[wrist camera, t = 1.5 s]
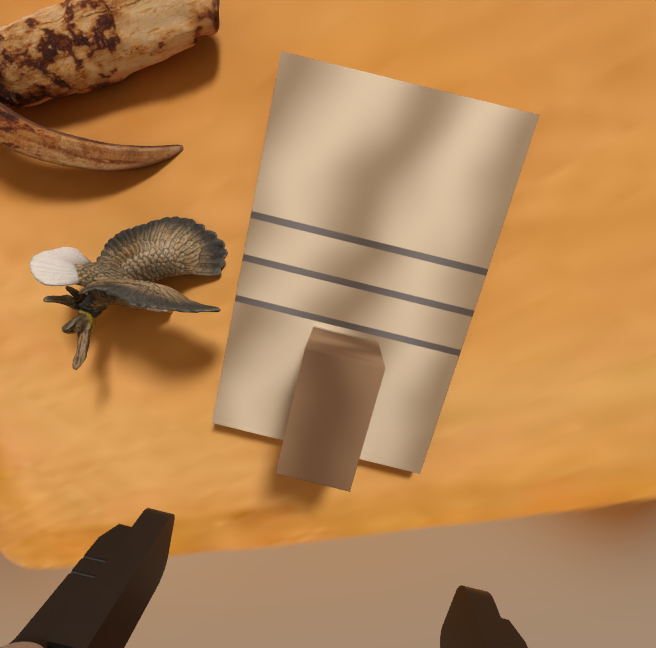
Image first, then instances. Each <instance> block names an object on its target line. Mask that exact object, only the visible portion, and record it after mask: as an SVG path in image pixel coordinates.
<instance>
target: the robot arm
mask: <svg viewBox="0 0 656 648" xmlns="http://www.w3.org/2000/svg"><path fill="white" fill-rule="evenodd" d="M174 518H175V516H174V514H171V513H166V512H162V511H158V510H154V509H150V508H147V509H145V510H144V511H143V513H142V514H141V515H140V517H139V518H138V519H137V521H136V522H135V523H134V525H133V526H132V527H129V526H125V525H121V524H119V525H117V526H115V527H114V528H112V529H111V530H109V531H108V532H106V533H105V534H103V535H102V536H100V537H99V538H98V539H97V540H96V542H95V543H94V544H93V545H92V546H91V548H90V549H89V550H88V551H87V552H86V554H85V555H84V558H82V559H81V560H80V561H79V562H78V563H77V565H76V566H75V567H74V568H73V569H72V572H71V573H70V574H68V575H67V577H66V578H65V579H64V581H63V582H62V583H61V584H60V585H59V586H58V588H57V589H56V590H55V591H54V593H53V594H52V595H51V596H50V597H49V599H48V600H47V601H46V602H45V603H44V605H43V606H42V607H41V608H40V609H39V611H38V612H37V613H36V614H35V616H34V617H33V618H32V619H31V620H30V622H29V623H28V624H27V625H26V627H25V628H24V629H23V630H22V631H21V632H20V634H19V635H18V636H17V637H16V638H15V639H14V640H13V641H12V642H11V643H10V644H8V645H5V646H2V647H0V648H124V647H125V645H126V643H127V641H128V640H129V638H130V636H131V634H132V632H133V630H134V629H135V627H136V625H137V623H138V621H139V619H140V618H141V615H142V614H143V612H144V610H145V608H146V606H147V605H148V603H149V601H150V599H151V597H152V595H153V594H154V592H155V590H156V588H157V586H158V584H159V582H160V579H161V577H162V575H163V572H164V569H165V566H166V562H167V559H168V553H169V548H170V542H171V536H172V531H173V525H174ZM440 648H528V647H527V645H526V643H525V641H524V640H523V638H522V637H521V636H520V634H519V633H518V632H517V630H516V629H515V628H514V626H513V625H512V624H511V622H510V621H509V620H507V619H503V618H501V617H500V615H499V612H498V609H497V607H496V604H495V602H494V599H493V597H492V596H491V594H490V593H489V592H486V591H482V590H478V589H474V588H470V587H465V586H459V587H458V588H457V590H456V593H455V595H454V598H453V601H452V603H451V606H450V608H449V611H448V613H447V616H446V618H445V621H444V624H443V626H442V630H441V636H440Z"/></svg>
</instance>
